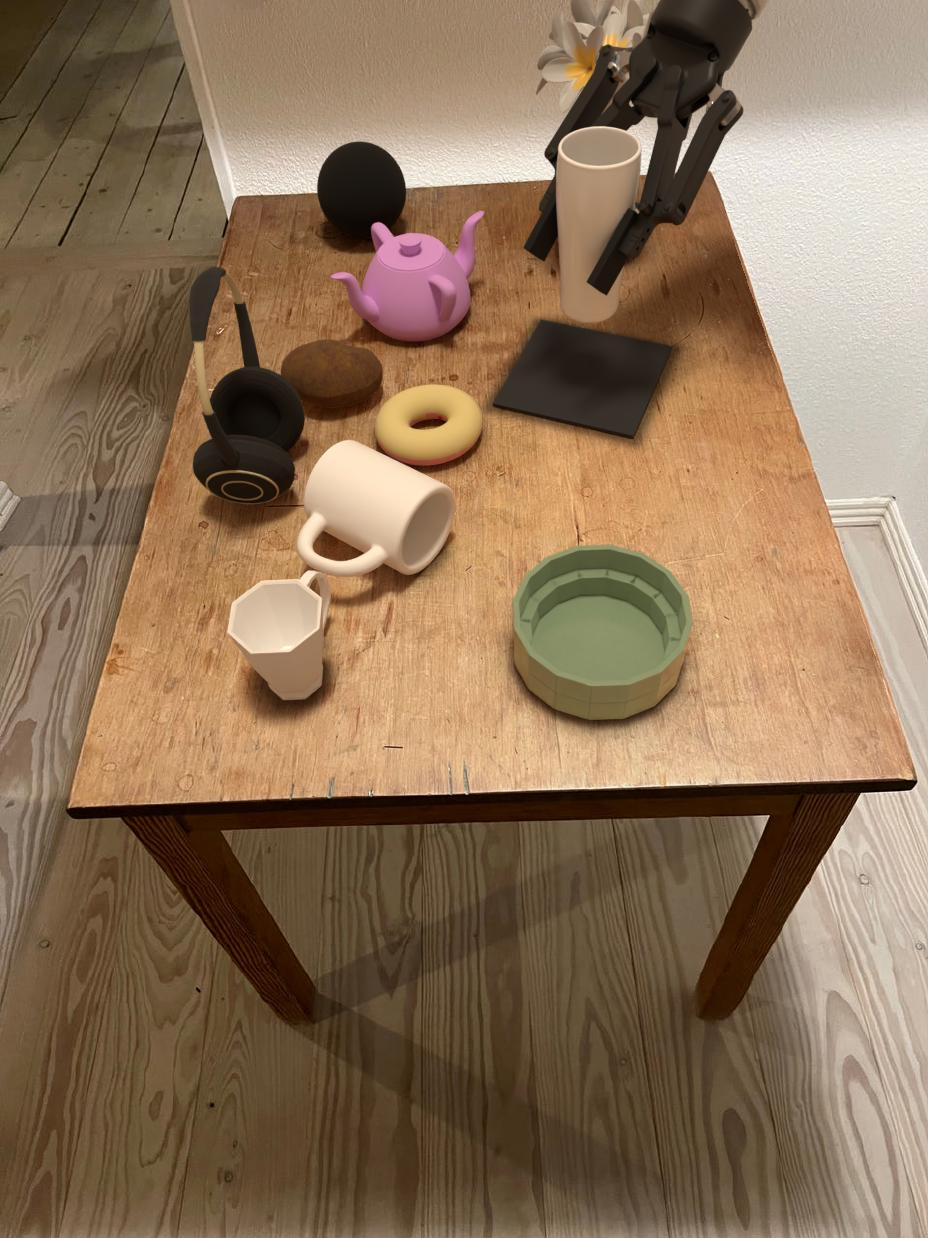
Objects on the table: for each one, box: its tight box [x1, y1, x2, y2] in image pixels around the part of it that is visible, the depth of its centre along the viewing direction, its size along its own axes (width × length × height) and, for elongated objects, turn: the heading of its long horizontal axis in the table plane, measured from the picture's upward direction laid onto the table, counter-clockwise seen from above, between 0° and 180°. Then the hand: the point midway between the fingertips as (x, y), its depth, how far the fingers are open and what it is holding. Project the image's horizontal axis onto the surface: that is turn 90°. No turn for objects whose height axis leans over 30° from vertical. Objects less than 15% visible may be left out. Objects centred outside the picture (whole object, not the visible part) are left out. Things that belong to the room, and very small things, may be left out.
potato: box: [280, 338, 384, 409], centre depth 90 cm, size 7×10×6 cm
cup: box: [226, 570, 332, 701], centre depth 71 cm, size 7×10×8 cm
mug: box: [296, 439, 457, 578], centre depth 77 cm, size 12×10×8 cm
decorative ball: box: [316, 141, 407, 240], centre depth 107 cm, size 10×10×10 cm
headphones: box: [188, 266, 306, 505], centre depth 79 cm, size 9×15×20 cm, turn 179°
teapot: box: [330, 210, 485, 343], centre depth 97 cm, size 12×14×9 cm
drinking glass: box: [556, 126, 643, 324], centre depth 81 cm, size 7×7×15 cm
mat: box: [492, 319, 673, 440], centre depth 93 cm, size 14×14×1 cm
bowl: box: [512, 544, 694, 721], centre depth 71 cm, size 13×13×5 cm
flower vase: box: [535, 0, 656, 213], centre depth 96 cm, size 13×18×25 cm
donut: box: [374, 383, 484, 466], centre depth 88 cm, size 10×5×9 cm
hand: (564, 271), depth 81 cm, fingers closed on drinking glass, 7 cm apart
